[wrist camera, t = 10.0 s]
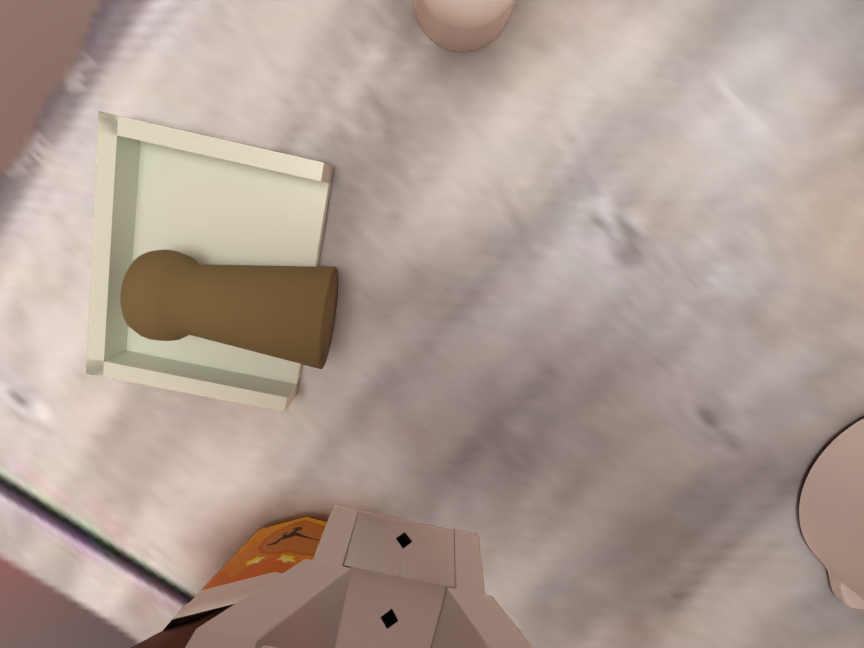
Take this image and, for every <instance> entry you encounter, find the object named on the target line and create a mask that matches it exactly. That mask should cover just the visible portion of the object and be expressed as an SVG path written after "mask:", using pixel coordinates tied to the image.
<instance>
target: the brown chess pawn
mask: <svg viewBox="0 0 864 648" xmlns="http://www.w3.org/2000/svg"><path fill="white" fill-rule="evenodd" d="M337 293H338V271H337V268H336V267H311V266H260V265H208V264H199V263H198V262H197V261H196V260H194V259H193V258H192V257H190V256H188V255H185V254H183V253H180V252H178V251H173V250H166V249H165V250H155V251H150V252H147V253H145V254H142V255H140V256H139V257H137V258H136V259H135V260H134V261H133V262H132V264H131V265H130V267H129V269H128V270H127V272H126V274H125V277H124V279H123V282H122V287H121V293H120V304H121V309H122V314H123V318H124V319H125V321H126V323H127V325H128V326H129V327H130V328H131V329H133V330H134V331H135V332H136V333H138V334H139V335H140V336H142V337H145V338H148V339H150V340H159V341H173V340H180V339H182V338H184V337H186V336H188V335H192V336H196V337H200V338H204V339H208V340H211V341H215V342H219V343H223V344H227V345H231V346H234V347H238V348H242V349H246V350H250V351H254V352H257V353H261V354H265V355H269V356H273V357H277V358H281V359H284V360H288V361H292V362H296V363H300V364H304V365H307V366H311V367H315V368H319V369H322V368H323V367H324V365H325V362H326V359H327V356H328V352H329V348H330V343H331V338H332V333H333V327H334V321H335V314H336V305H337Z"/></svg>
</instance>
